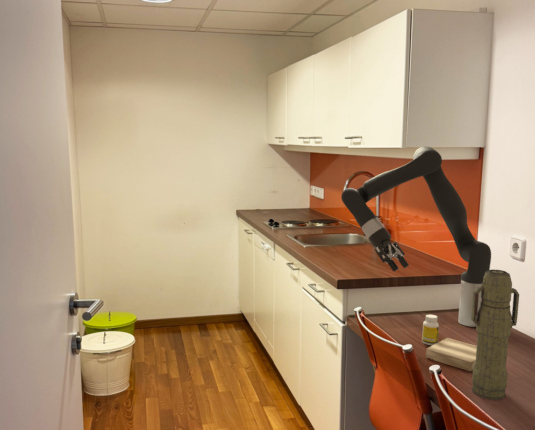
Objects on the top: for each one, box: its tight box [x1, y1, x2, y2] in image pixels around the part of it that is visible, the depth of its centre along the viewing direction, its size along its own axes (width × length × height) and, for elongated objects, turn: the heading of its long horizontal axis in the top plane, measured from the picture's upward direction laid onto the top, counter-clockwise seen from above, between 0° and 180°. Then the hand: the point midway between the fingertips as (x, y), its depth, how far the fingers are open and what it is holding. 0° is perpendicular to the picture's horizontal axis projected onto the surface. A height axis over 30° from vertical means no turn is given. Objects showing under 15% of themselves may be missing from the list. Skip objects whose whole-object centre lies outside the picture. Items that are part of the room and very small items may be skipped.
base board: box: [425, 337, 477, 372], centre depth 172 cm, size 15×15×3 cm
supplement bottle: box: [421, 314, 440, 346], centre depth 185 cm, size 5×5×10 cm
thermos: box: [471, 269, 520, 401], centre depth 145 cm, size 9×12×35 cm
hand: (401, 268), depth 190 cm, fingers open, 8 cm apart
